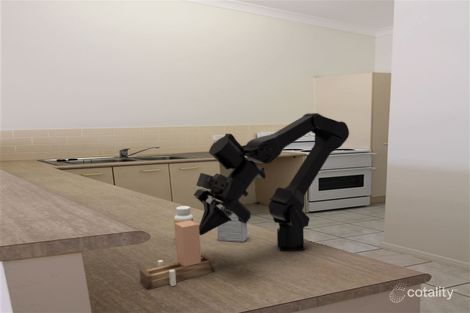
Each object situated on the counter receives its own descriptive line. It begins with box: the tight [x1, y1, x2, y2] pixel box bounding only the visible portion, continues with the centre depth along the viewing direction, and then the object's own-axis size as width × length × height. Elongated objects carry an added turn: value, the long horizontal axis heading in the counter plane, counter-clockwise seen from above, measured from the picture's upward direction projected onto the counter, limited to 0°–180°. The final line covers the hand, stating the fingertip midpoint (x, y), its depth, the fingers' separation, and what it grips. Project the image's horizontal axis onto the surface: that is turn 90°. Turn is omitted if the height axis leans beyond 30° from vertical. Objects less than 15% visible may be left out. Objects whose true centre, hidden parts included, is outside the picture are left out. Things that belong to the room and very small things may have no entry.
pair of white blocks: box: [157, 259, 177, 287], centre depth 91 cm, size 1×8×3 cm, turn 31°
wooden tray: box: [139, 253, 216, 290], centre depth 92 cm, size 16×5×3 cm, turn 121°
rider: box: [174, 220, 202, 267], centre depth 93 cm, size 4×4×10 cm
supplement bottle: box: [173, 205, 194, 242], centre depth 118 cm, size 5×5×10 cm
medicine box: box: [216, 213, 249, 243], centre depth 118 cm, size 8×4×9 cm, turn 71°
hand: (199, 234), depth 95 cm, fingers closed
